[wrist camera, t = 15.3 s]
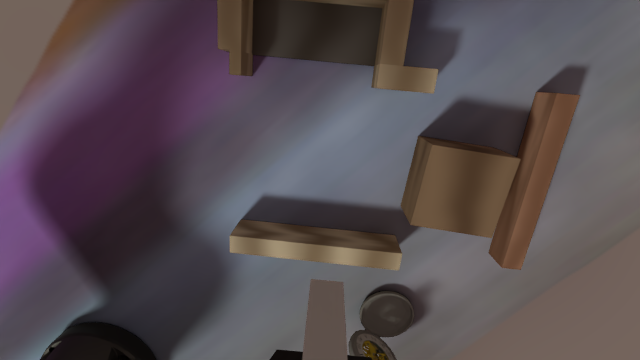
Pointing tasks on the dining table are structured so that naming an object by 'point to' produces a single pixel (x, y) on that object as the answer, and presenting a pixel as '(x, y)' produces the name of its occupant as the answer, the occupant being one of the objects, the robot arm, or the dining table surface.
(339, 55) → the brown wooden pieces
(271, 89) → the dining table surface
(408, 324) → the pocket watch
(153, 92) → the dining table surface
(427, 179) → the block
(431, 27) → the dining table surface
